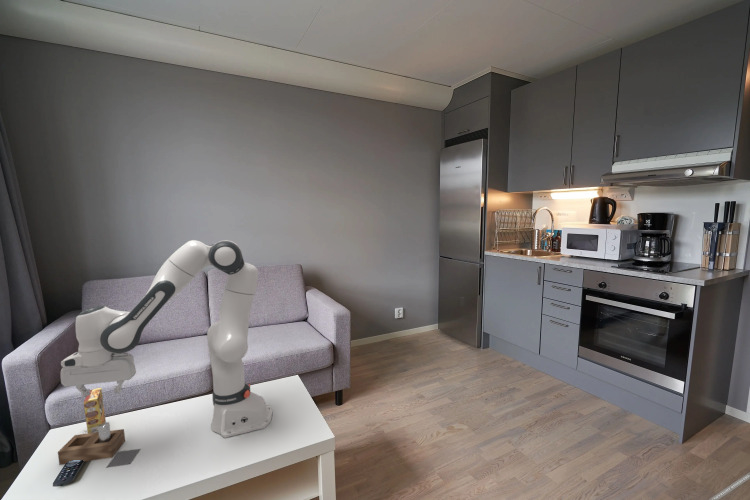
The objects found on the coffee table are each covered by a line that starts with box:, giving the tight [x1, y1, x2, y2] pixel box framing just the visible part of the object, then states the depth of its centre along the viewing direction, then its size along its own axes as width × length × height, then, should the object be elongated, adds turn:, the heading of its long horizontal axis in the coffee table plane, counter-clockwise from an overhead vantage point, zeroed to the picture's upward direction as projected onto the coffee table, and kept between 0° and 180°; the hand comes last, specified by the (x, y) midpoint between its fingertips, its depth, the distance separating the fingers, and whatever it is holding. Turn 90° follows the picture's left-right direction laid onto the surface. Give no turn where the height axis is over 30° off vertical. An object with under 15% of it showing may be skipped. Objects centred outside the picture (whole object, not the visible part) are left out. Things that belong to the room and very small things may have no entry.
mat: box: [105, 448, 141, 469], centre depth 108 cm, size 7×7×1 cm
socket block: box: [57, 428, 126, 466], centre depth 110 cm, size 15×8×5 cm, turn 102°
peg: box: [98, 421, 111, 443], centre depth 111 cm, size 3×3×10 cm
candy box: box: [83, 387, 107, 434], centre depth 120 cm, size 9×4×15 cm, turn 33°
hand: (102, 393), depth 109 cm, fingers open, 8 cm apart
